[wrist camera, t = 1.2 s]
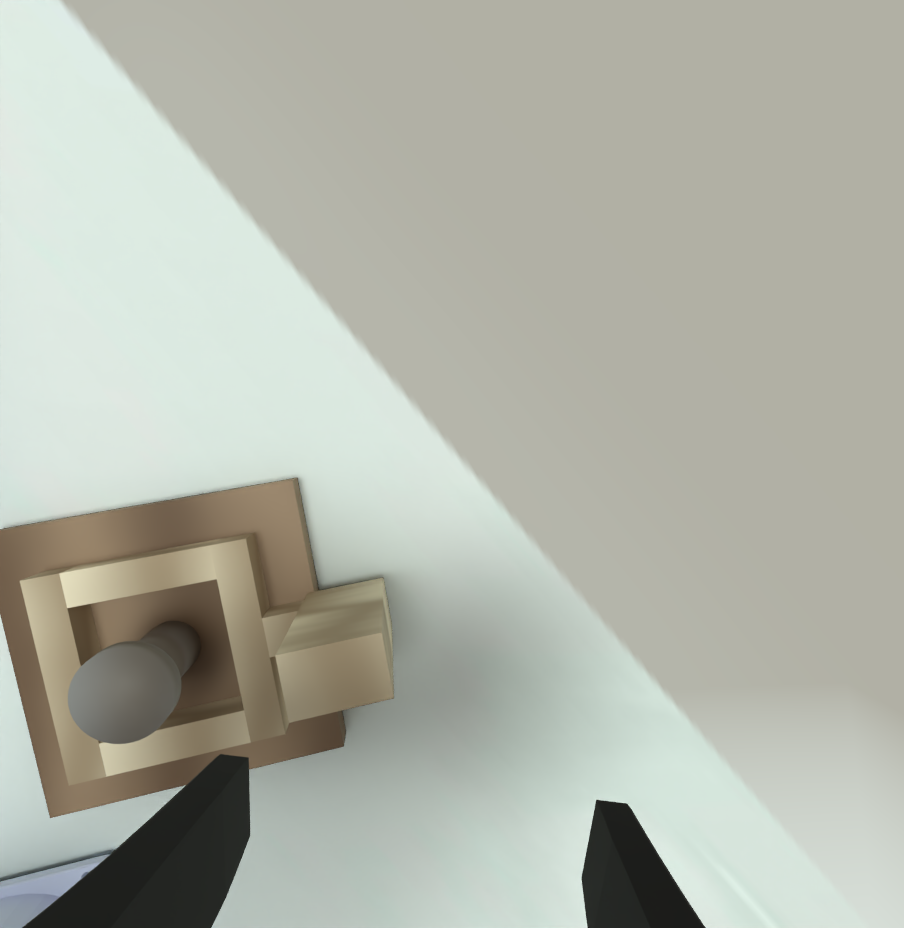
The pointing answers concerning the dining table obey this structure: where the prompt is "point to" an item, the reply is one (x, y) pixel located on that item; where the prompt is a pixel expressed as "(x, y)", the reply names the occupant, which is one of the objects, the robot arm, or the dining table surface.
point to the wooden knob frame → (252, 643)
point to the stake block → (155, 634)
